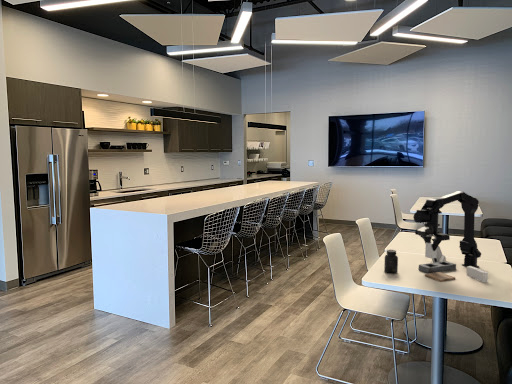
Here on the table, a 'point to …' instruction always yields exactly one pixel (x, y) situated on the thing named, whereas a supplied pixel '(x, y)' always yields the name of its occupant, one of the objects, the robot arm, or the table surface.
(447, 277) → the walnut pad
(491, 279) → the table surface
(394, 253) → the supplement bottle
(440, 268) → the grey cinder block
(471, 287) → the table surface
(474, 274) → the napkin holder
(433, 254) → the steel plug
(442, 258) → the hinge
